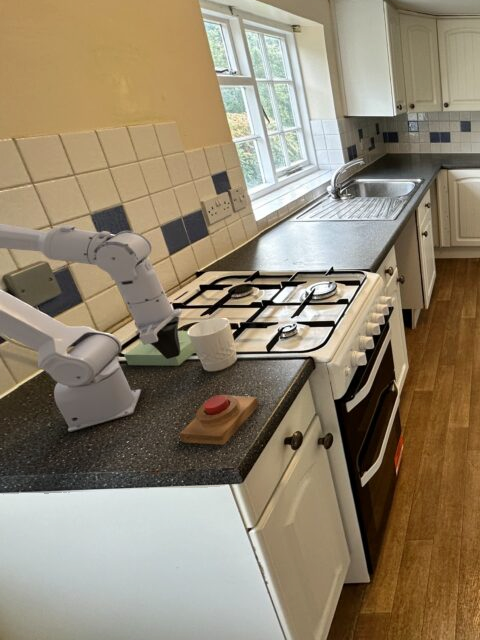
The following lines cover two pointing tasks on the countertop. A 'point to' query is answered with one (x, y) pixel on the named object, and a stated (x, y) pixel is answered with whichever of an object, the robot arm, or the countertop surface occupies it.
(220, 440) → the button block
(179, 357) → the dial panel
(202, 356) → the white cup
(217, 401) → the button
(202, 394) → the countertop surface
